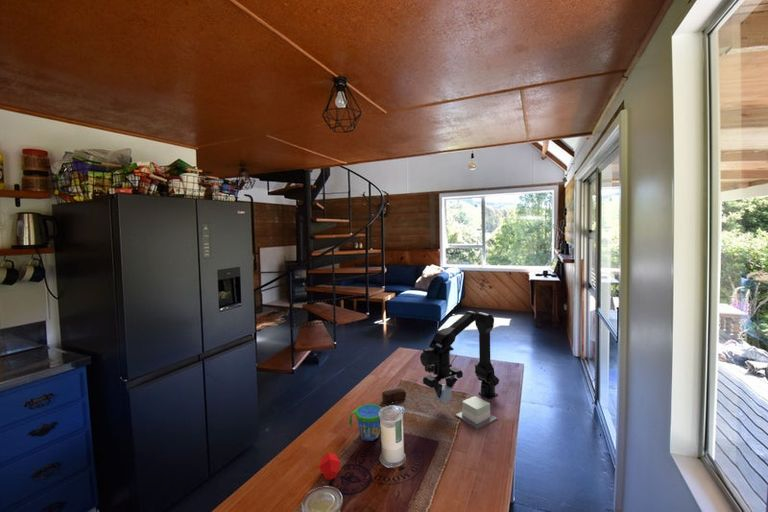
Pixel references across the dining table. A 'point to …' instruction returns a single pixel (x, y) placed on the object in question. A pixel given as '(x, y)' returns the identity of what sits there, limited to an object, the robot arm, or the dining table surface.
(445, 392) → the top block
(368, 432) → the snack cup
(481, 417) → the pale block on slab
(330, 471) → the red rounded lump
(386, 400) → the brick
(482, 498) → the dining table surface
